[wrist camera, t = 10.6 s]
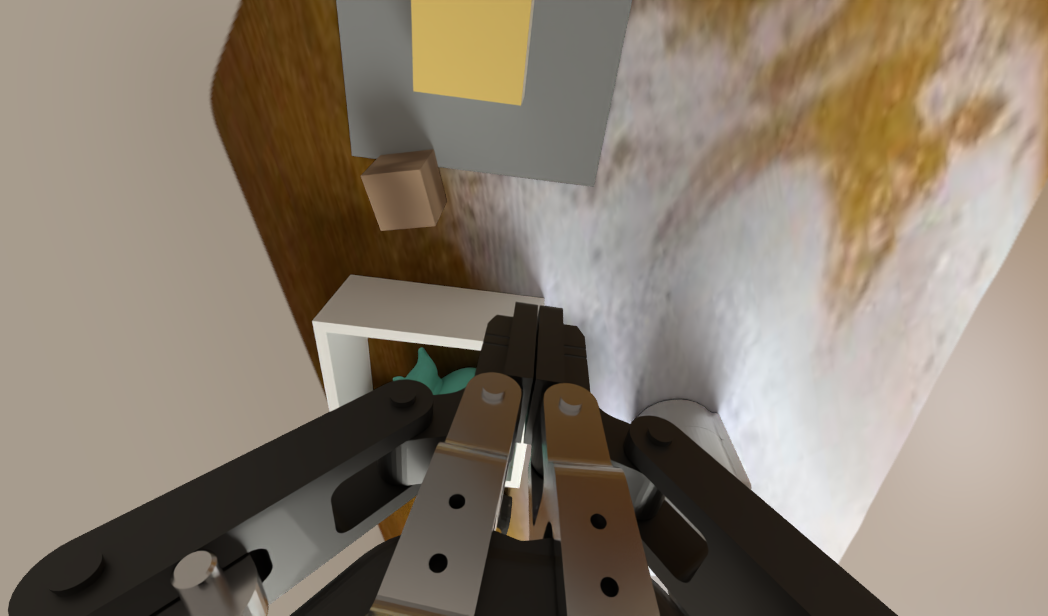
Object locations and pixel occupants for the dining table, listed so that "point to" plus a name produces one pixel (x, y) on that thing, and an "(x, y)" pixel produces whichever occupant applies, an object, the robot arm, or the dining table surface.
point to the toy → (429, 376)
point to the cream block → (472, 48)
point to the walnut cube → (405, 190)
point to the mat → (482, 126)
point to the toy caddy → (402, 331)
